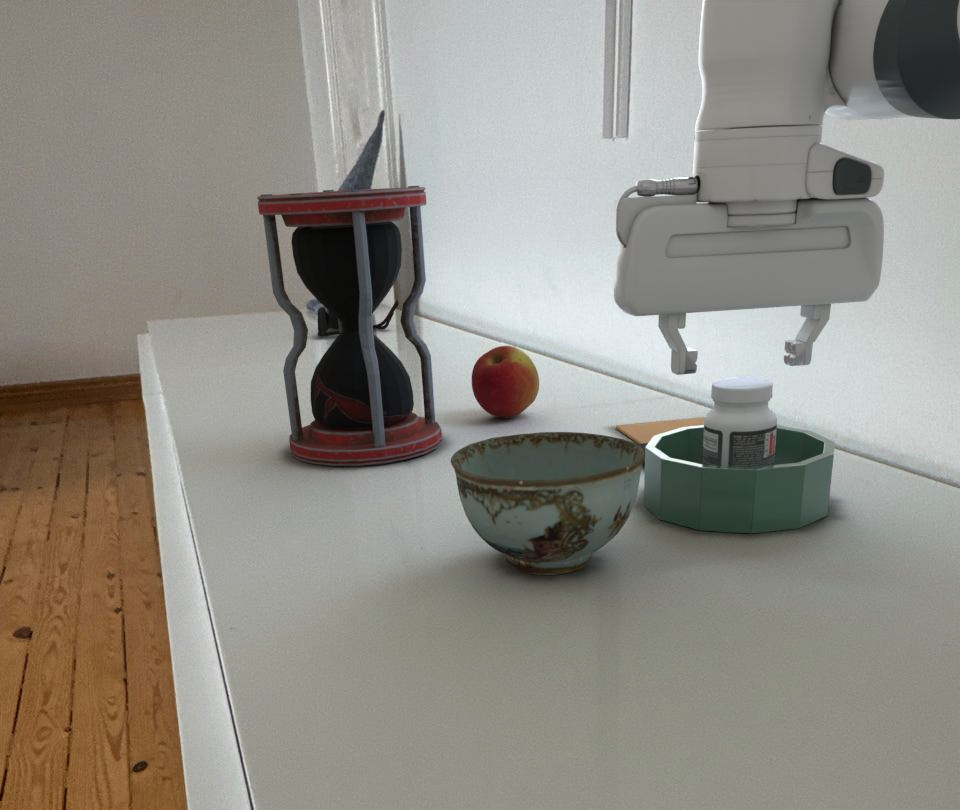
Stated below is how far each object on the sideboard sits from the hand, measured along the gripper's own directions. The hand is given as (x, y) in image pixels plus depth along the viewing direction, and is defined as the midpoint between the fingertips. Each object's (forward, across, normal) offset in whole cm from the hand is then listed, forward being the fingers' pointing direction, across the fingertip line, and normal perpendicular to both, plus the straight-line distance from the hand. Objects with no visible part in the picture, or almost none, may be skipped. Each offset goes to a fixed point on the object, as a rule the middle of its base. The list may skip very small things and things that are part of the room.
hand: (740, 369), depth 78 cm
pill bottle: (+11, 0, 0) cm, 11 cm away
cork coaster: (+11, +4, +24) cm, 27 cm away
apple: (+11, -11, +39) cm, 42 cm away
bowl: (+11, -18, -8) cm, 22 cm away
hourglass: (+12, -28, +31) cm, 43 cm away
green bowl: (+11, 0, 0) cm, 11 cm away
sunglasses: (+12, -21, +120) cm, 122 cm away
